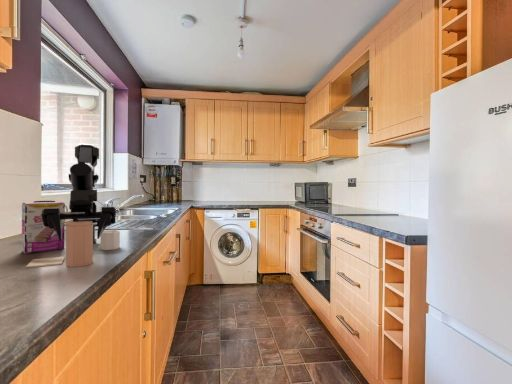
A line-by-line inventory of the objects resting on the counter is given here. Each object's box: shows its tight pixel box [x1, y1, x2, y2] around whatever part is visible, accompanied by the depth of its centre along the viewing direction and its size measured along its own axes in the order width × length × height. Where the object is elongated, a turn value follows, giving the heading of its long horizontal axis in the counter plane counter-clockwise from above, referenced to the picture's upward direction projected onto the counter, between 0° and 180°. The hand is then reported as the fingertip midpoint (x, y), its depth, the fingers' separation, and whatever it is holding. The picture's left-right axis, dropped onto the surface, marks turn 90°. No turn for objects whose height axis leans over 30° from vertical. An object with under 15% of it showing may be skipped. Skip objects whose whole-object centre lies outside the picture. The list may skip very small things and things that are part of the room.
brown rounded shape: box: [65, 220, 94, 268], centre depth 82 cm, size 6×6×12 cm
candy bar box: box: [21, 201, 66, 255], centre depth 96 cm, size 11×5×16 cm, turn 141°
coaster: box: [25, 256, 66, 269], centre depth 82 cm, size 8×8×1 cm
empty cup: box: [100, 229, 121, 251], centre depth 102 cm, size 6×6×6 cm
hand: (79, 239), depth 81 cm, fingers open, 9 cm apart
